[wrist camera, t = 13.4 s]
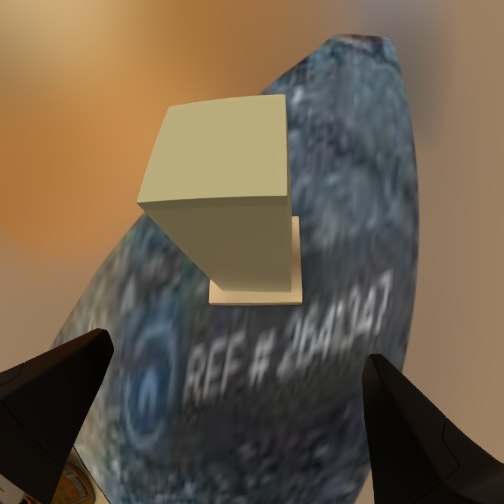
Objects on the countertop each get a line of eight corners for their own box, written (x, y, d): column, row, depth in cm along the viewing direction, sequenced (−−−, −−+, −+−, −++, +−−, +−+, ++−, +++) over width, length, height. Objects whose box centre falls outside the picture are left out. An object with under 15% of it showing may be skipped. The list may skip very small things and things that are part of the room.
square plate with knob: (301, 304, 21) (303, 290, 17) (212, 305, 22) (193, 292, 18) (298, 221, 24) (298, 192, 19) (217, 225, 24) (202, 199, 20)
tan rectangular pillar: (291, 292, 20) (287, 195, 8) (222, 290, 21) (136, 202, 9) (292, 228, 22) (285, 94, 10) (228, 228, 23) (169, 107, 11)
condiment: (76, 510, 15) (6, 536, 4) (40, 450, 18) (-38, 457, 7) (112, 505, 15) (33, 543, 4) (69, 436, 19) (-22, 447, 8)
